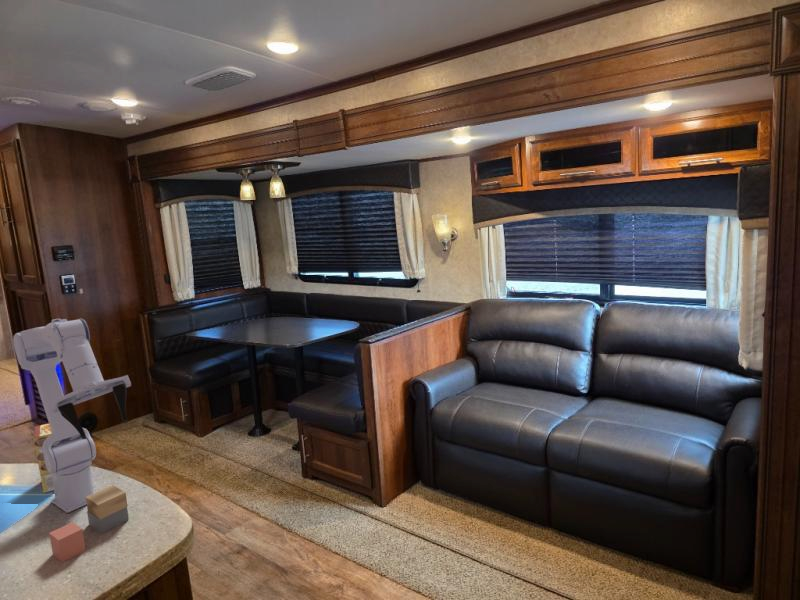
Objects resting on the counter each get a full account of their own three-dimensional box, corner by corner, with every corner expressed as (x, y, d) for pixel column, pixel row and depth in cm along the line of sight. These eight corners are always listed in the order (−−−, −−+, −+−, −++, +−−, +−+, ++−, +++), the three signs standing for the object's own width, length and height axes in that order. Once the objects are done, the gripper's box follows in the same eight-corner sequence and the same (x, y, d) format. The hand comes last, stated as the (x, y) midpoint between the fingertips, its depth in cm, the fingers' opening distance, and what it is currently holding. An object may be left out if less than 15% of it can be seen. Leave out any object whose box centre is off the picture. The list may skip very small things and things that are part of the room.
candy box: (62, 488, 134) (52, 433, 132) (42, 494, 132) (32, 437, 129) (61, 474, 142) (52, 422, 139) (43, 479, 139) (33, 426, 137)
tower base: (89, 525, 118) (87, 511, 117) (116, 512, 123) (114, 498, 122) (101, 534, 115) (99, 519, 114) (128, 520, 119) (126, 506, 119)
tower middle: (87, 511, 117) (85, 496, 117) (114, 498, 122) (112, 484, 122) (100, 519, 114) (98, 504, 113) (127, 506, 119) (125, 492, 118)
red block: (52, 554, 108) (49, 532, 107) (76, 543, 112) (72, 521, 111) (62, 562, 105) (58, 540, 104) (85, 550, 109) (82, 528, 108)
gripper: (39, 377, 101) (61, 439, 98) (119, 351, 109) (142, 408, 106) (45, 389, 107) (66, 449, 103) (121, 364, 115) (143, 418, 111)
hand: (105, 429), depth 105 cm, fingers open, 7 cm apart
